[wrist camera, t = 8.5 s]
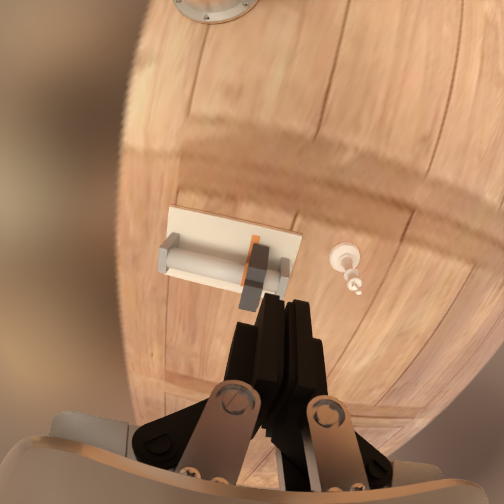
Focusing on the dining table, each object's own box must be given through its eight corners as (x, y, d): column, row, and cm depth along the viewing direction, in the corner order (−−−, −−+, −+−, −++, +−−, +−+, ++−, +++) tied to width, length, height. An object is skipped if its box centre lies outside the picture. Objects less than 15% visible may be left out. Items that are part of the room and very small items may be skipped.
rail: (166, 271, 48) (151, 292, 42) (171, 204, 43) (154, 219, 37) (281, 298, 48) (281, 324, 42) (302, 233, 43) (304, 253, 37)
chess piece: (341, 276, 45) (353, 314, 36) (322, 256, 44) (331, 292, 35) (365, 257, 43) (383, 292, 34) (347, 235, 42) (362, 268, 33)
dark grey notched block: (244, 282, 46) (237, 314, 38) (253, 243, 42) (246, 272, 35) (259, 285, 46) (254, 318, 38) (269, 247, 42) (266, 276, 35)
